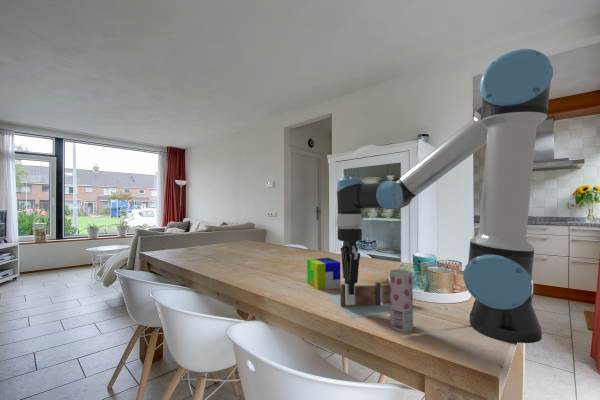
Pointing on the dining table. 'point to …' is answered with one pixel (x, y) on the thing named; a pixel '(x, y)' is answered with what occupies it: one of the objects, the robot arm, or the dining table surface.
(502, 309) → the robot arm
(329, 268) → the puzzle toy
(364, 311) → the card
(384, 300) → the fence fixed
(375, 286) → the fence panel
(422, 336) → the dining table surface
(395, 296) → the beverage can
